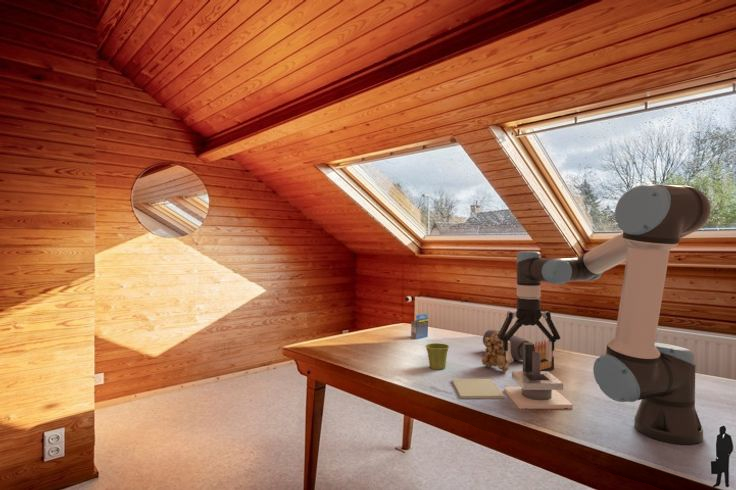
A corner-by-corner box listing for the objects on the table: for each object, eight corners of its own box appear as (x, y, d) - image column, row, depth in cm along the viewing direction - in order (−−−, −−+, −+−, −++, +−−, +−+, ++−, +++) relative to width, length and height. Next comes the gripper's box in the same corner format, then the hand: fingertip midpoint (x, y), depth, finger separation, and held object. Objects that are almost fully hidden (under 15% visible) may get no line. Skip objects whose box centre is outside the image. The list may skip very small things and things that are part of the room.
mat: (504, 398, 144) (504, 395, 144) (460, 398, 144) (460, 395, 144) (491, 381, 161) (491, 378, 161) (451, 381, 161) (451, 378, 161)
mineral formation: (491, 364, 182) (491, 327, 182) (518, 372, 171) (518, 333, 170) (477, 367, 178) (477, 329, 177) (504, 376, 166) (504, 335, 166)
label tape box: (422, 335, 234) (422, 312, 234) (428, 337, 231) (428, 313, 231) (410, 338, 228) (410, 314, 228) (416, 339, 225) (416, 315, 225)
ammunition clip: (536, 374, 168) (536, 342, 168) (532, 373, 170) (532, 341, 169) (554, 369, 174) (554, 338, 174) (550, 368, 175) (550, 337, 175)
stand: (572, 408, 135) (572, 359, 135) (519, 408, 135) (519, 359, 135) (551, 390, 151) (551, 345, 151) (504, 390, 151) (504, 346, 151)
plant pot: (422, 369, 176) (421, 347, 175) (430, 363, 184) (430, 342, 184) (445, 372, 171) (444, 350, 171) (452, 366, 180) (452, 344, 179)
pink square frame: (563, 389, 137) (563, 354, 137) (523, 389, 137) (523, 354, 137) (545, 374, 152) (545, 342, 151) (509, 374, 152) (509, 342, 152)
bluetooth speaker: (534, 362, 184) (534, 338, 184) (515, 364, 181) (515, 340, 180) (498, 349, 205) (498, 327, 205) (481, 351, 202) (481, 329, 202)
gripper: (561, 295, 153) (561, 357, 154) (488, 296, 154) (488, 357, 154) (571, 298, 146) (570, 363, 146) (494, 299, 146) (494, 363, 147)
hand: (528, 360), depth 150 cm, fingers open, 13 cm apart
